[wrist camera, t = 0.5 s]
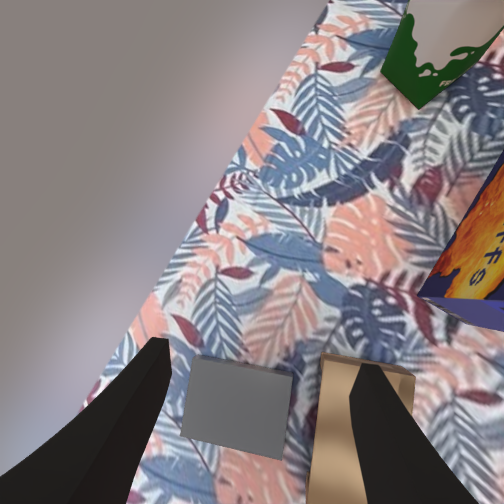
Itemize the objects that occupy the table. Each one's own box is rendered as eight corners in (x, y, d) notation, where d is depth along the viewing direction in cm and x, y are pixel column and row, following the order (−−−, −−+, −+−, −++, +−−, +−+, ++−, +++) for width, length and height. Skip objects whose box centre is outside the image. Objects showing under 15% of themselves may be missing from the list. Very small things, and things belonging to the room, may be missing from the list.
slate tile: (283, 449, 37) (281, 460, 35) (187, 427, 39) (180, 436, 37) (293, 371, 38) (292, 377, 36) (199, 353, 40) (192, 357, 38)
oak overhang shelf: (388, 505, 34) (400, 537, 30) (305, 485, 36) (306, 512, 31) (401, 366, 36) (415, 376, 31) (321, 351, 37) (324, 360, 33)
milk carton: (424, 27, 40) (541, -222, 21) (476, 75, 39) (657, -149, 19) (369, 71, 41) (433, -132, 21) (418, 120, 39) (537, -52, 19)
